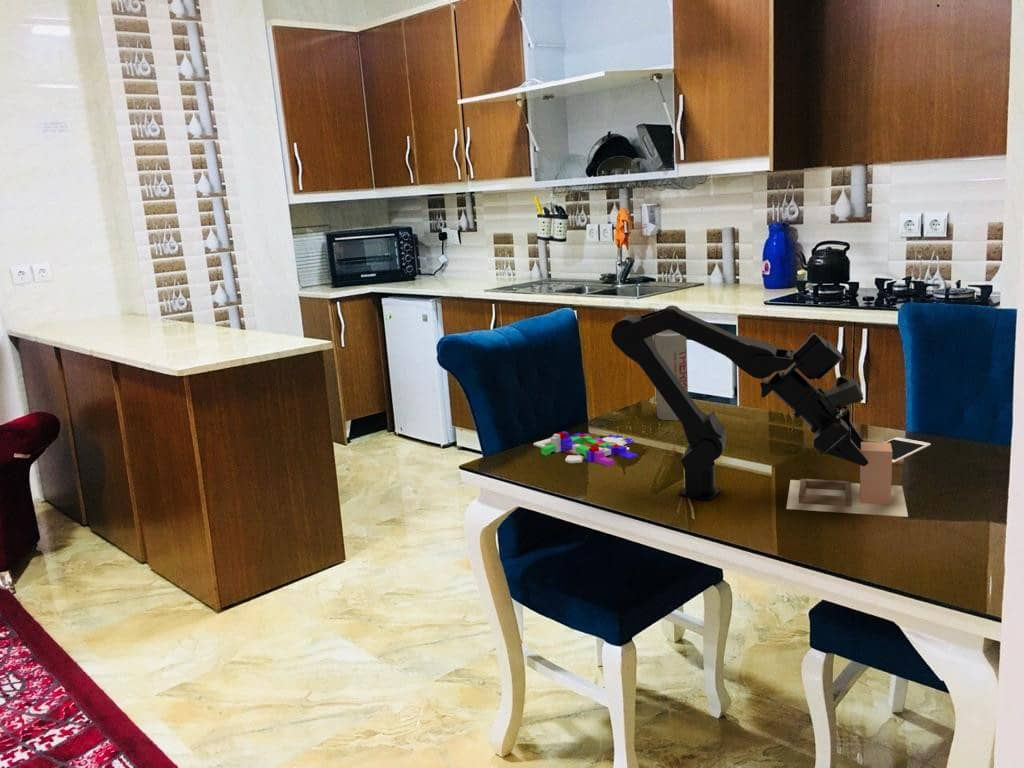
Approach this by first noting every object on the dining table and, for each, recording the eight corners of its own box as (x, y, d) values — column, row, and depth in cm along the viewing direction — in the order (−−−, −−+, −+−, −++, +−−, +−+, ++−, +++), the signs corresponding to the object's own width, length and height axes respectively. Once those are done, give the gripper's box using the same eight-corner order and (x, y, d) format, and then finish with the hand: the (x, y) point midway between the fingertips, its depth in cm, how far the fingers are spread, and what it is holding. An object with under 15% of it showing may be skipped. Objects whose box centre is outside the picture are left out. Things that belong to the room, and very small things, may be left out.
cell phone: (931, 446, 182) (931, 443, 182) (893, 464, 172) (893, 462, 172) (896, 439, 188) (896, 436, 188) (858, 457, 178) (858, 454, 178)
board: (786, 513, 151) (786, 500, 151) (790, 484, 165) (790, 472, 164) (908, 522, 144) (908, 508, 144) (901, 490, 158) (902, 478, 157)
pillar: (860, 503, 151) (861, 450, 149) (859, 493, 156) (860, 441, 153) (890, 504, 149) (892, 451, 147) (889, 494, 154) (890, 442, 152)
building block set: (660, 451, 192) (659, 433, 191) (592, 474, 181) (591, 454, 180) (588, 431, 212) (587, 414, 211) (524, 450, 201) (522, 432, 200)
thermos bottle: (694, 417, 214) (692, 309, 208) (668, 423, 211) (665, 314, 205) (676, 411, 222) (673, 306, 215) (651, 416, 219) (647, 310, 212)
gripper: (834, 378, 141) (905, 442, 139) (835, 355, 158) (897, 412, 156) (786, 422, 146) (853, 484, 144) (791, 394, 162) (851, 450, 161)
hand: (865, 456), depth 151 cm, fingers open, 9 cm apart
